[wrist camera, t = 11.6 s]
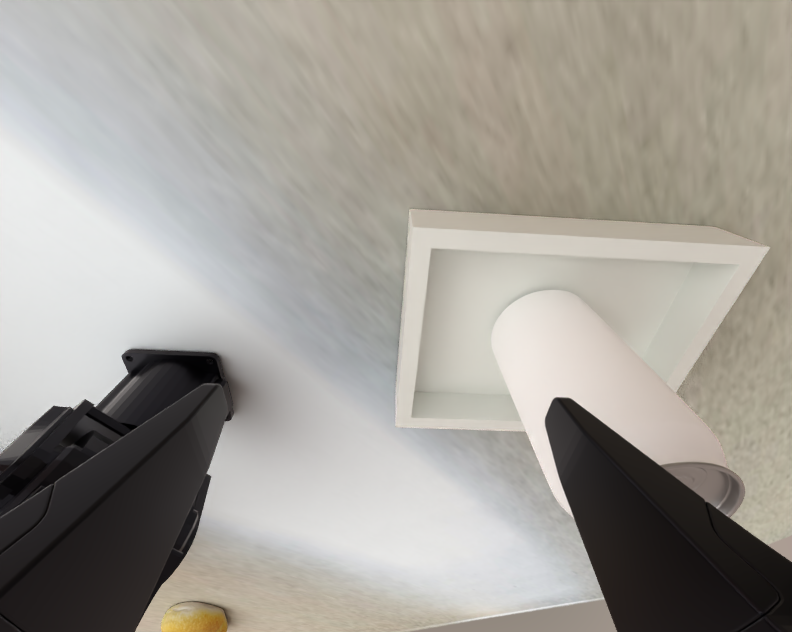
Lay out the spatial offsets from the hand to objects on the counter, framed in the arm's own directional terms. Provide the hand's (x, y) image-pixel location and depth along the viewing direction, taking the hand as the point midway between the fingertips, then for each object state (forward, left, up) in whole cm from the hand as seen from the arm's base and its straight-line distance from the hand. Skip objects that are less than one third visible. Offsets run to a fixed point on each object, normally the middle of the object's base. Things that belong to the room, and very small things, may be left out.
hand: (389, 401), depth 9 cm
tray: (+10, -5, -13) cm, 17 cm away
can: (+10, -5, -12) cm, 17 cm away
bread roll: (-24, -56, -14) cm, 62 cm away
